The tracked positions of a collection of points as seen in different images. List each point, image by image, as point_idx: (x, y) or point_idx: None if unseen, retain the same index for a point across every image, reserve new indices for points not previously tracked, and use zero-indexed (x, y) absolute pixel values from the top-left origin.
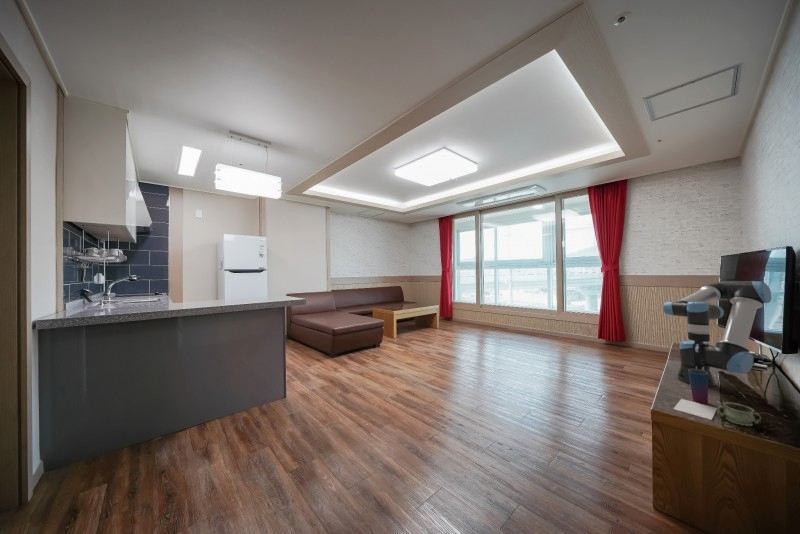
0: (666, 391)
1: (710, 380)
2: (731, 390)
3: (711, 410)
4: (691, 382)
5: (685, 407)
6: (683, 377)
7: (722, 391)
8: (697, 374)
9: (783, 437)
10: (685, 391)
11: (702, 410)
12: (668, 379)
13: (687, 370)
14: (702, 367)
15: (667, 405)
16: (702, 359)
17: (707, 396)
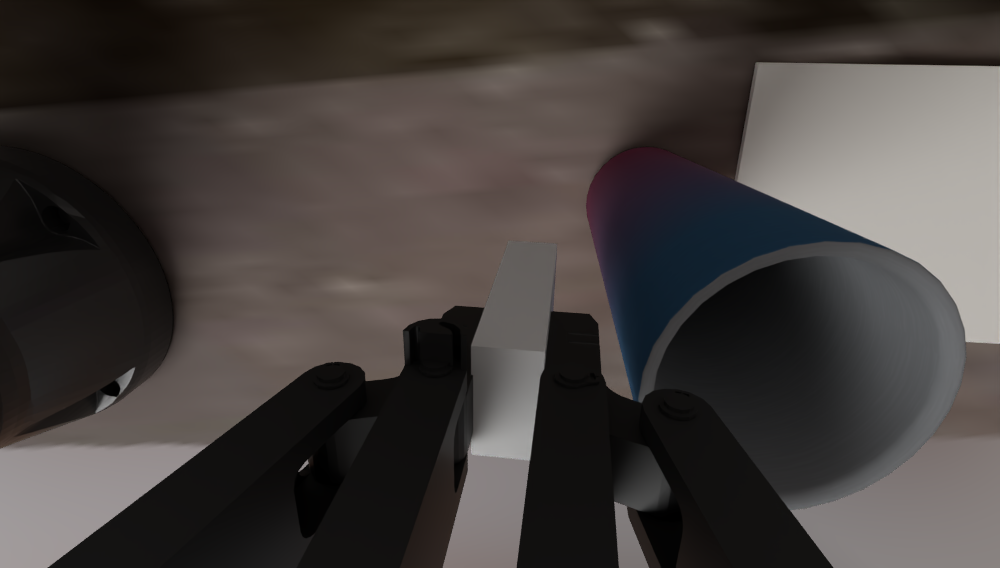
0: None
1: (11, 188)
2: (6, 13)
3: (886, 97)
4: (770, 352)
5: (956, 279)
6: (133, 374)
7: (125, 77)
8: (961, 379)
9: None
10: (430, 317)
11: (945, 160)
12: (208, 438)
13: (43, 394)
14: (583, 368)
15: (966, 386)
16: (584, 525)
17: (681, 159)
